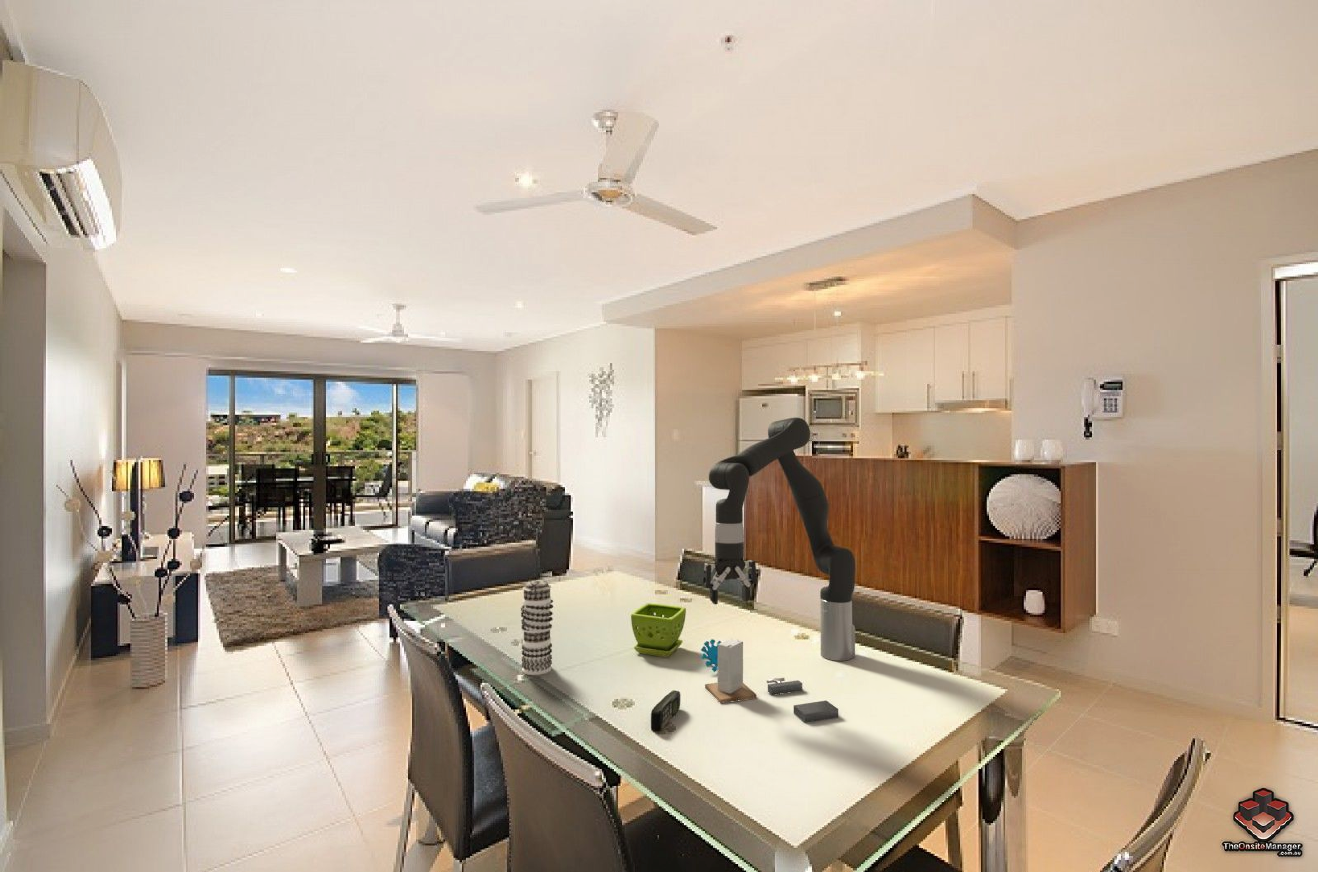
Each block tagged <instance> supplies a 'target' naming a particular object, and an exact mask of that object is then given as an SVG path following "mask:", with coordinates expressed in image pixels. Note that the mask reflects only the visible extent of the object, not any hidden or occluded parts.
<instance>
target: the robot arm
mask: <svg viewBox="0 0 1318 872" xmlns="http://www.w3.org/2000/svg"><path fill="white" fill-rule="evenodd" d="M767 435H768V438H766V439H764V440H761V441H759V442H756V443H754V444H752V445H750V446H748V447H746V448H745V449H744V450H742V451H741V452H739V453H738V454H735V455H733V456H729V457H726V458H724V459H722V460H719V461H717V462H716V463H714V465H713V466H712V467H711V468H710V471H709V473H708V481H709V484H710V485H711V486H712V487H713V488H714V489H717V490H725V491H728V495H727V497H726V498H722V499H719V500H717V501H716V502H715V503H716V504H715V527H714V557H715V560H714V563H707V562H704V563H703V567H702V568H703V569H702V585H703V587H706V588H707V589H709V601H710V602H711V603H712V604H714V605H718V604H719V602H718V601H719V600H718V599H719V594H718V593H719V592H718V588H719V586H720V584H722V583H723V581H724V580H725V581H728V580H737V579H738V580H739V581H740V583H741V584H742V585H741V600H742V601H743V602H748V601H749V599H750V598H751V595H750V593H751V591H750V589H751V586H752V585H756V584H757V582H758V579H757V567H756V561H754V560H752V559H748V560H746V561H745V559H744V558H745V528H744V513H743V512H744V510H743V509H744V503H745V500H746V495H747V491H748V487H749V485H750V484H749V483H750V477H752V476H755V475H756V474H758V473H759V472H760V471H762V470H763V469H764V468H766V467H767V466H768V465H770V464H771V463H772V462H774V461H776V460H777V461H778V463H779V465H780V467H781V469H782V471H783V473H784V476H785V478H786V481H787V484H788V486H789V488H790V492H791V495H792V497H793V501H794V503H795V506H796V508H797V511H798V513H799V515H800V517H801V518H800V519H801V521H802V523H803V527H804V528H805V532H806V534H807V537H808V541H809V545H810V549H811V553H812V557H813V560H814V563H815V566H816V567H817V569H818V570H819V572H821V573H822V574H824V575H827V576H829V580H828V585H827V586H824V587H822V588H821V589H820V591H819V592H820V593H819V594H820V596H819V597H820V598H819V600H820V601H819V602H820V656H821V657H822V658H825V659H827V660H832V661H841V662H842V661H843V662H844V661H849V660H851V659H852V658H856V627H855V625H854V624H853V594H854V591H855V587H856V585H855V584H856V560H855V556H854V554H853V552H852V551H851V550H850V549H848V548H845V547H843V546H838V545H835V543H834V542H833V539H832V537H831V535H830V532H829V528H828V518H829V513H830V511H829V509H830V506H829V505H830V504H829V500H828V498H827V496H826V493H825V490H824V487H823V485H822V483H821V482H820V481H819V479H818V478H817V477H816V476H815V475H814V474H813V473H811V471H810V470H808V469H807V468H806V467H805V466H804V465H803V464H802V463H801V461H800V460H799V459H798V457H797V455H796V452H795V450H798V449H801V448H803V447H805V446H806V445H807V444H808V443H809V441H810V438H811V430H810V426H809V424H808V423H807V421H806V420H805V419H804V418H801V417H790V418H784V419H781V420H777V421H772V422H771V423H770V424H769V426H768V427H767ZM745 568H746V569H747V576H746V575H745V573H744V572H743V571H744V569H745ZM714 570H715V571H716V572H715V574H714V575H713V577H712V573H713V571H714ZM747 578H748V579H747ZM711 579H712V580H711Z"/></svg>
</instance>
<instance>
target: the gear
mask: <svg viewBox="0 0 1318 872" xmlns="http://www.w3.org/2000/svg"><path fill="white" fill-rule="evenodd" d="M722 642H723V641H721V640H718V641H717V643H716V640H715V639H713V638H711V639H710V640H709V641H705V642H704V643H703V645H704V646H702V647H701V648H700V651H701V652H703V653H702V654H701V659H702V660H707V661H705V666H706V667H710V666H709V665H711V666H712V665H714V666H712V667H711V671H712V672H716V673H717V671H718V644H720V643H722ZM715 643H716V645H715Z"/></svg>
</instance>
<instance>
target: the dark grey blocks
mask: <svg viewBox="0 0 1318 872" xmlns="http://www.w3.org/2000/svg"><path fill="white" fill-rule="evenodd" d="M785 680H786V678H785V677H779V678H777V677H776V678H772V679H766V684H767V693H768V692H769V693H770V694H769V693H768V694H769V695H770V696H775V694H777V695H781V694H780V693H784V694H789V693H788V692H791V693H797V692H803V682H802V681H800V680H790V681H785ZM793 714H794V716H796V717H797V718H798V719H799V720H801V722H803V723H804V724H807V723H814V722H819V721H821V722H822V721H826V720H831V719H832V720H833V719H838V718H839V708H838V707H836V706H835V705H834V704H832V703H831V702H830V701H828V700H820V701H813V702H807V703H800V704H793Z"/></svg>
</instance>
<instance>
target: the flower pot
mask: <svg viewBox="0 0 1318 872" xmlns="http://www.w3.org/2000/svg"><path fill="white" fill-rule="evenodd" d="M686 612H687V609H686V607H683V606H678V605H677V606H676V605H669V604H661V603H652V602H651V603H646V604H644V605H642V606H640V607H638V608H637V609H636V610H634V611H633V612H632V613H631V614H630V621H631V628H632V632H633V635H634V638H635V641H636V644H635V645H634V647H633V648H634V650H635V651H636V652H637V653H639V654H643V655H648V656H649V655H650V656H656V657H663V658H665V659H666V658H669V657H670V656H671V655H672V654H674V652H676V650H678V649H679V647H680V646H681V645H682V644H683V640H682V639H679V638H681V634H682V632H683V629H684V626H685V621H686V614H687V613H686Z"/></svg>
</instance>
